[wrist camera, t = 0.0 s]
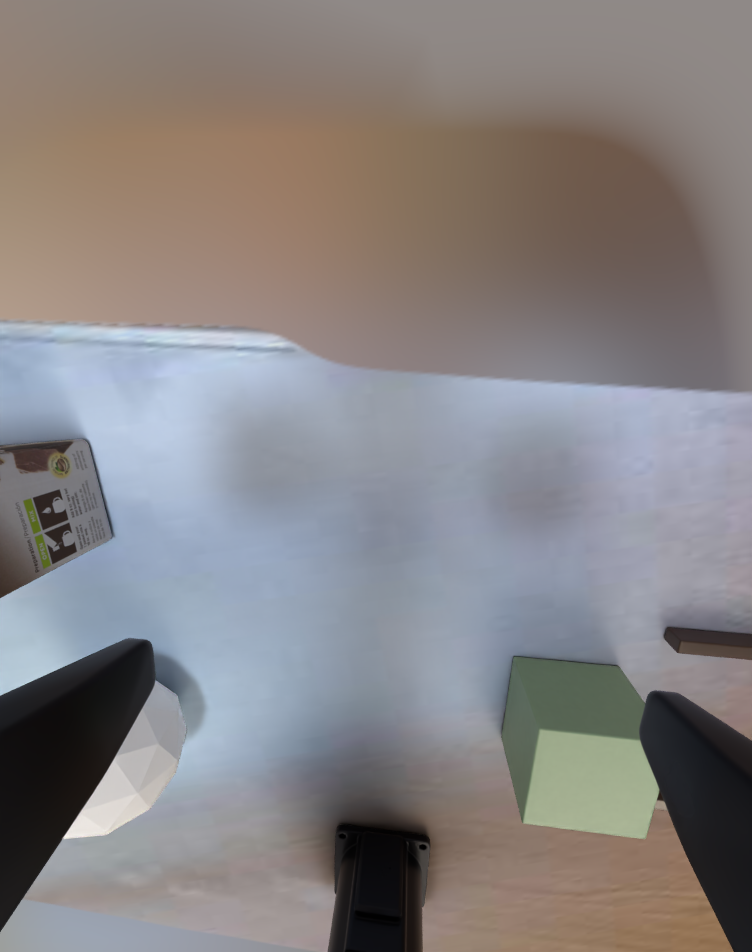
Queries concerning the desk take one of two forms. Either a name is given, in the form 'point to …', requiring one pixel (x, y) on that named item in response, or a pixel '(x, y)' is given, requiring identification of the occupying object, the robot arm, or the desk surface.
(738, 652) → the bay
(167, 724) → the geometric ball
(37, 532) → the coffee box
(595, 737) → the block
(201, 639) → the desk surface
